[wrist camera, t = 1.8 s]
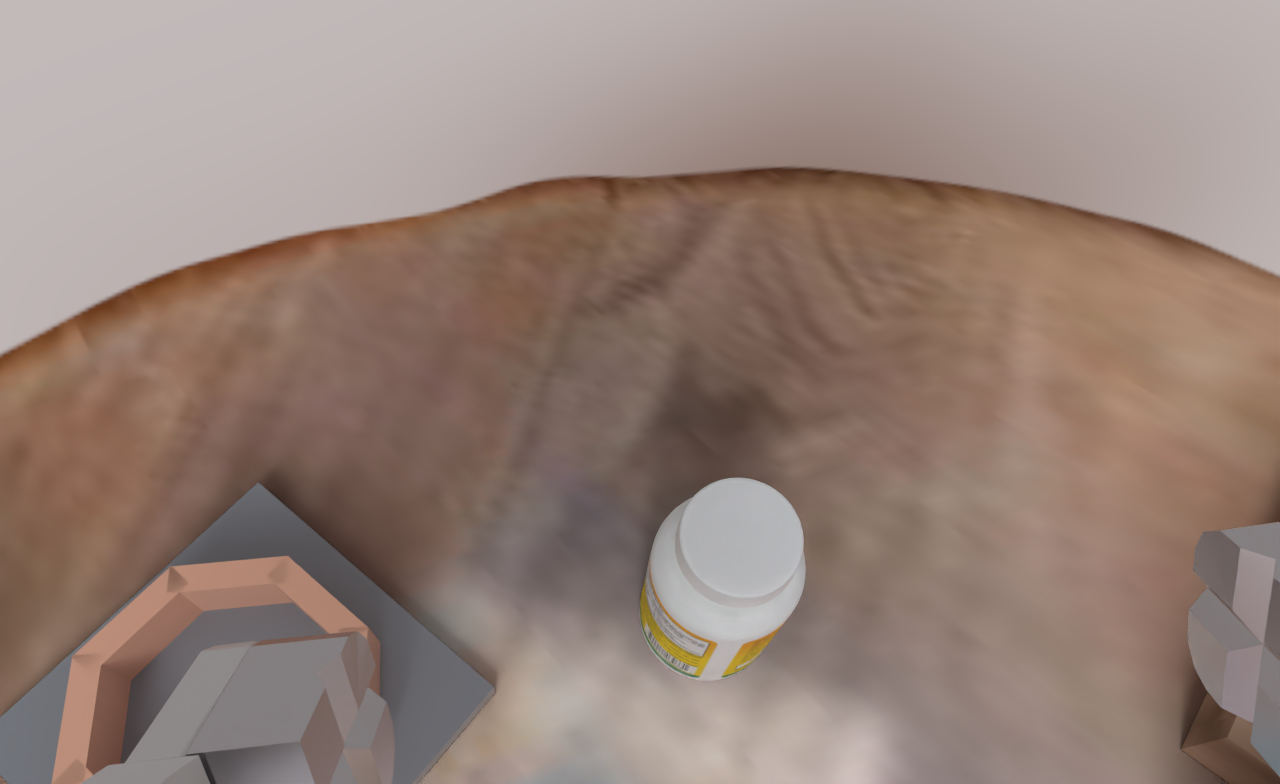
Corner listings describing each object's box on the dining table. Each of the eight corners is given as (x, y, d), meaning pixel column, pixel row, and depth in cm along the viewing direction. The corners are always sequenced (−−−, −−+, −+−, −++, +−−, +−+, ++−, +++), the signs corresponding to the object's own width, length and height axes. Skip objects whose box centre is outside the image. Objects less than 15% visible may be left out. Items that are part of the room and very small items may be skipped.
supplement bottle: (637, 682, 37) (654, 617, 28) (639, 550, 39) (654, 454, 31) (774, 685, 37) (832, 621, 28) (767, 553, 39) (818, 459, 31)
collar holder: (226, 1009, 31) (187, 1021, 28) (-13, 747, 34) (-72, 732, 31) (496, 692, 36) (488, 673, 33) (265, 491, 40) (238, 457, 36)
